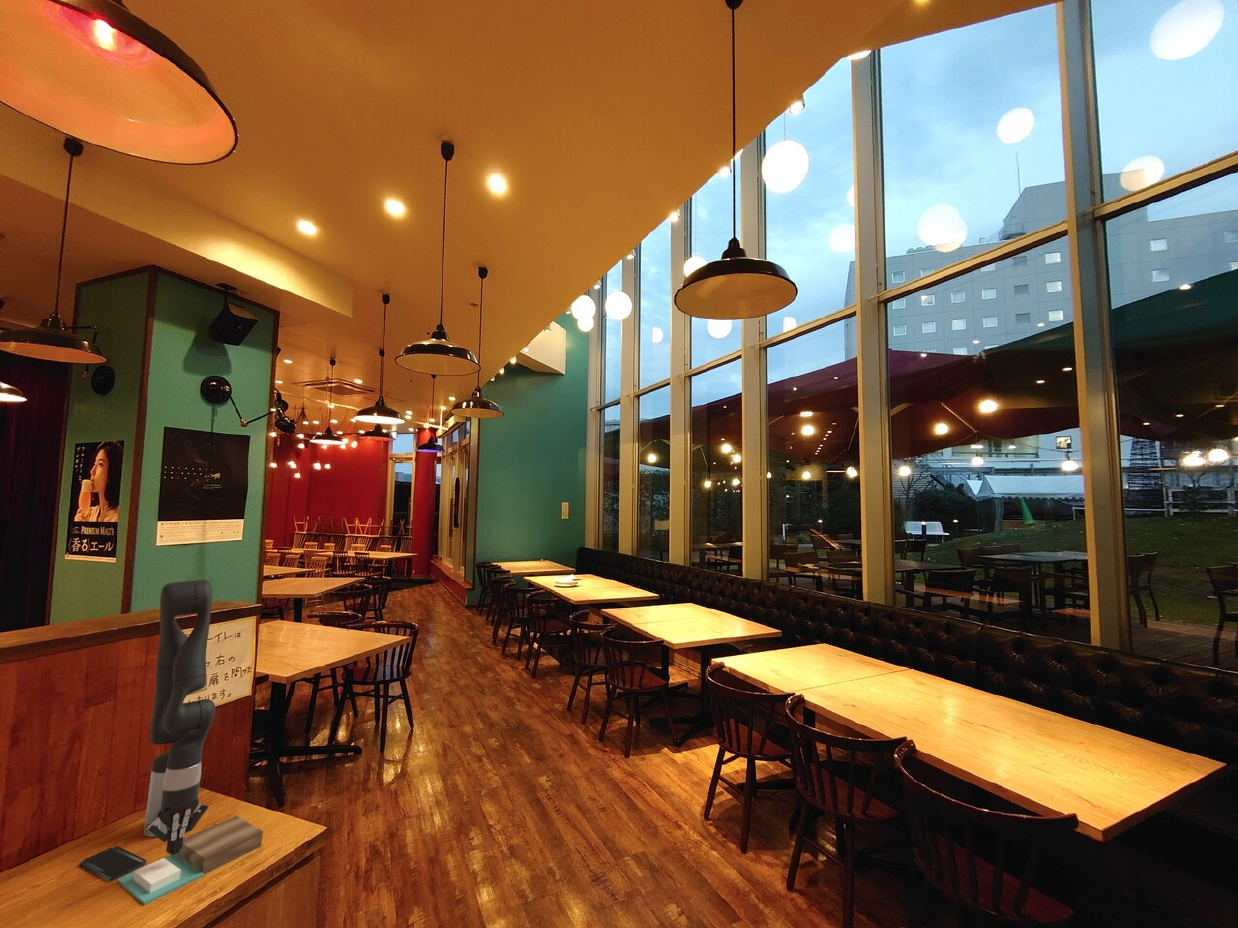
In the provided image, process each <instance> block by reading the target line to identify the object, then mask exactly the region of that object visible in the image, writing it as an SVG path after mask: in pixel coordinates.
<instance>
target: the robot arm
mask: <svg viewBox="0 0 1238 928" xmlns="http://www.w3.org/2000/svg"><path fill="white" fill-rule="evenodd" d="M159 597H160V598H159V641H158V642H159V643H158V651H157V657H156V658H157V659H156V668H155V693H154V702H153V709H152V715H151V721H150V728H149V741H150V743H151V745H154V746H162V745H168V744H170V745H169V748H168V751H165V752H162V753H160V754H159V755H158V756H156V757H155V758H154V759H153V761H152V765H151V772H150V780H149V781H150V782H149V788H148V799H147V806H146V813H145V818H144V819H145V820H144V828H143V835H144V836H145V837H147V838H158V839H159V840H160V841H162V842H163V843H165V842H167V843H166V850H165V851H166V854H169V856H172V855H174V854H177V853H179V850H180V849H181V848H182V844H183V838H184V836H185V835H186V834H187V833H188V832H191V831H193V829H194V828H195V826H196V825H197V824H198V822H199V821H200V820H201V818H202V817H203V816H204V814H205V813H206V811H207V810H208V809H209V806H208V805H207V804H205V803H203V802H200V800H199V793H200V785H201V777H202V757H203V749H204V744H205V741H206V738H207V736H208V733H209V731H210V728H211V726H212V724H213V721H214V718H215V716H216V710H217V709H216V705H215V702H214V701H213V700H211V699H209V698H203V699H199V700H195V701H194V700H193V701H190V702H185V703H184V701H185V698H186V697H187V696H189V695H190V694H193V693H196V692H198V691H201V690H203V689H205V687H206V685H207V646H208V640H209V639H208V638H209V634H210V633H209V632H210V625H211V623H210V622H211V615H212V613H211V612H212V603H213V589H212V585H211V583H210V581H209V580H208V579H198V580H197V579H195V580H187V581H186V580H185V581H175V582H169V583H167V584H166V583H165V585H164V586H163V587H162V589H161V591H160V596H159ZM194 614H196V619H195V624H194V626H193V629H192V630H191V632H190V634H189V635H187V634H186V633H185V632H184V631H183V630H182V629H181V627H180V626H179V625H178V622H177V621H176V617H178V616H185V615H194Z"/></svg>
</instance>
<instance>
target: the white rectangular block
mask: <svg viewBox="0 0 1238 928" xmlns="http://www.w3.org/2000/svg"><path fill="white" fill-rule="evenodd" d="M165 858H166V857H163V858H161V859H158V860H156V861H154V862H152V863H149V864H146V865H144V866H143V867H141V868H139V869H137V870H135V871H133V872H134V878H133V880H134V881H136V882H137V883H138V884H139V885H141V886H142V887H143V888H144V889H146V890H147V891H148V892H149V893H151V892H153V891H155V890H157V889H159V888H162V887H164V886H166V885H168V884H170V883H172V882H174V881H176V880H178V879H180V874H181V870H180V869H179V868H177V867H176V866H175V865H173V864H172V863H170V862H169V861H168V860H166V859H165Z"/></svg>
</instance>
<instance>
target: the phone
mask: <svg viewBox="0 0 1238 928" xmlns="http://www.w3.org/2000/svg"><path fill="white" fill-rule="evenodd" d="M145 866H147V860H146V859H145V858H143V857H140V856H138V855H137V854H135V853H133V852H131V851H128V850H126V849H124V848H122V847H120V846H117V845H115V846H111V847H109V848H107V849H105V850H102V851H100V852H97V853H95V854H93V855H92V856H89V857H86V858H85V859H83V860H81V861H80V862H79V867H80V868H82V869H84V870H86V871H88V872H89V873H91V874H94V875H95V876H97V877H99V878H101V879H103V880H105V881H107V882H115V881H116V880H117V881H118V879H119V878H121V877H124V876H126V875H128V874H130V873H133V872H134V871H136V870H138V869H140V868H142V867H145Z"/></svg>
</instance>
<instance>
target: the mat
mask: <svg viewBox="0 0 1238 928" xmlns="http://www.w3.org/2000/svg"><path fill="white" fill-rule="evenodd" d="M164 858H165V859H166V860H168V861H169V862H170V863H172V864H173V865H175V866H176V867H177V868H179V869H180V870H181V874H180V879H178V880H176V881H174V882H172V883H170V884H168V885H166V886H164V887H162V888H159V889H157V890H155V891H153V892H151V893H149V892H148V891H147V890H146V889H144V888H143V887H142V886H141V885H139V884H138V883H137V882H136V881H134V880H133V878H134V871H133V872H131V873H129V874H127V875H125V876H123V877H121V878H119V879H117V883H118V884H119V885H120V886H121V887H122V888H124V889H125V890H126V891H128V892H129V893H130V894H131V895H132V896H133V897H134V898H136V899H137V900H138V902H140V903H141V904H142V905H143V906H146V905H147V904H149V903H151V902H154V901H156V900H157V899H158V900H159V898H162V897H164V896H166V895H167V894H169V893H173V892H174V891H175V890H177V889H180V888H182V887H183V886H186V885H189V883H192V882H194V881H196V880H198V879H199V878H202V877H204V876H205V874H204V873H203V872H201V871H200V870H199V869H197V868H196V867H195V866H193V865H192V864H190V863H189V862H188V861H186V860H185V859H183V858H182V857H181V856H179V855H178V854H174V855H172V856H171V855H169V856H167V857H164Z"/></svg>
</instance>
